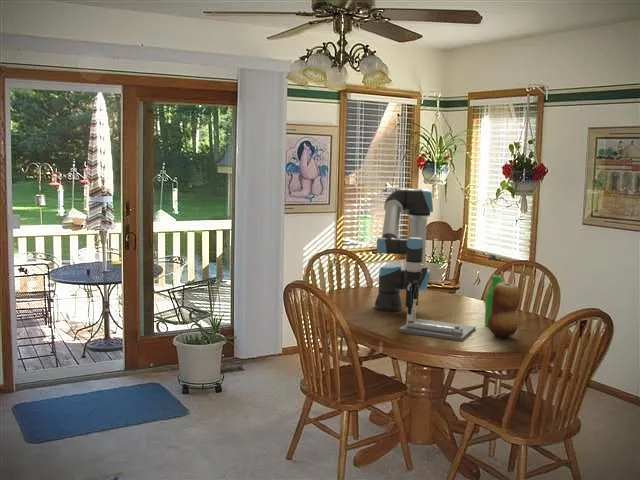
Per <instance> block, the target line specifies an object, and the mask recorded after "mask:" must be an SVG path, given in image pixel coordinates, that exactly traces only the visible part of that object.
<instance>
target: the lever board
mask: <svg viewBox="0 0 640 480" xmlns="http://www.w3.org/2000/svg"><path fill="white" fill-rule="evenodd" d="M415 322H418V323H425V324H433V325H440V326H447V327H455V326H460V328H462V329H463V334H453V333H450V332H443V331H436V330H429V329H422V328H415V327H408V326H406V323H405V324H404V325H401V327H398V332H399V333H406V334H411V335H412V334H413V335H418V336H425V337H432V338H440V339H445V340H452V341H458V342H463V341H464V340H465V339H467V338H468V337H469V336H471V334H473V332H474V331H476V326H475V325H474V326H473V325H466V324H460V323H459V324H458V323H452V322H445V321H438V320H430V319H423V318H417V317H416V319H415Z"/></svg>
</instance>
